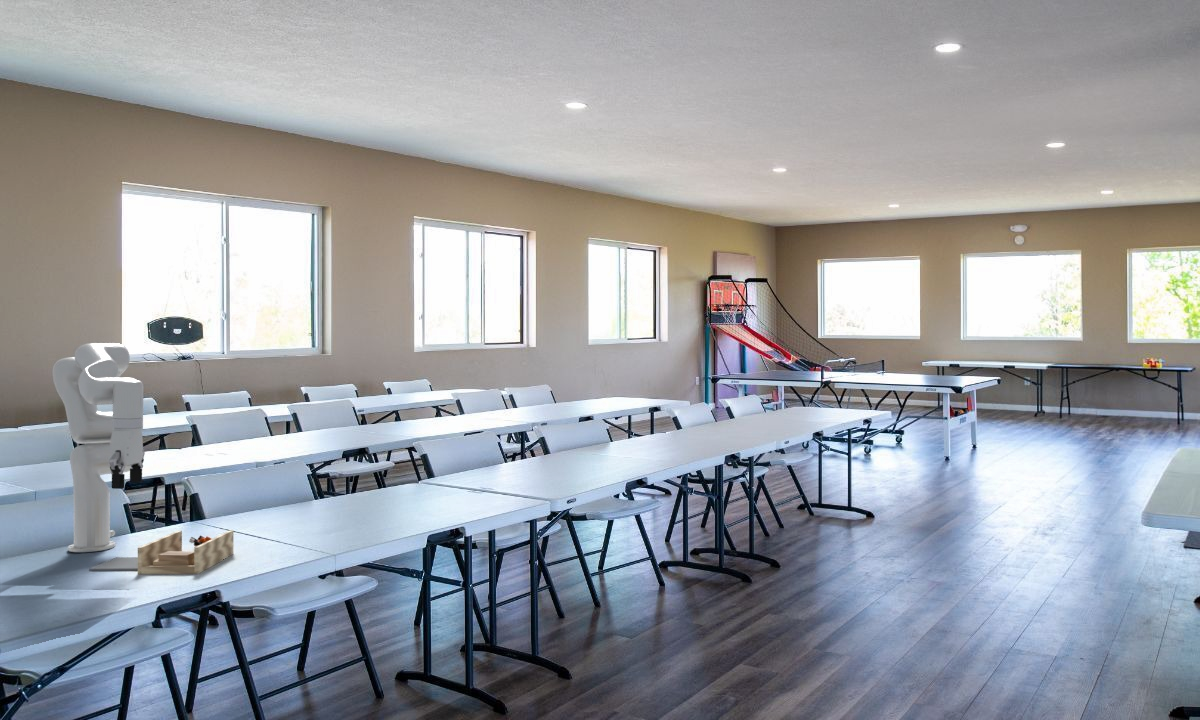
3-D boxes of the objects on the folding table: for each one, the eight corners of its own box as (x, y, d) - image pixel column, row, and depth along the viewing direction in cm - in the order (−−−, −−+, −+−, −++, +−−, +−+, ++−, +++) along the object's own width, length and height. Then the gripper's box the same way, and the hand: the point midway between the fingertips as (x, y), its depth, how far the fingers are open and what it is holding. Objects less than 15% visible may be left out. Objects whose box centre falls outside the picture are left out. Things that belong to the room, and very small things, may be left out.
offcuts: (162, 567, 248) (162, 551, 248) (198, 567, 248) (198, 551, 248) (151, 572, 242) (151, 555, 242) (189, 572, 242) (189, 555, 242)
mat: (116, 559, 258) (116, 557, 258) (165, 559, 258) (165, 557, 258) (89, 570, 244) (89, 568, 244) (141, 570, 244) (141, 568, 244)
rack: (178, 554, 264) (178, 530, 264) (233, 554, 265) (233, 530, 265) (137, 574, 240) (137, 547, 240) (198, 573, 241) (198, 547, 241)
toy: (196, 533, 256) (198, 524, 270) (183, 551, 255) (186, 541, 269) (222, 547, 259) (222, 537, 273) (209, 565, 258) (210, 554, 272)
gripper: (130, 420, 260) (129, 480, 260) (97, 427, 243) (96, 490, 243) (156, 421, 260) (155, 480, 261) (125, 427, 243) (124, 491, 243)
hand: (127, 485), depth 252 cm, fingers open, 9 cm apart
